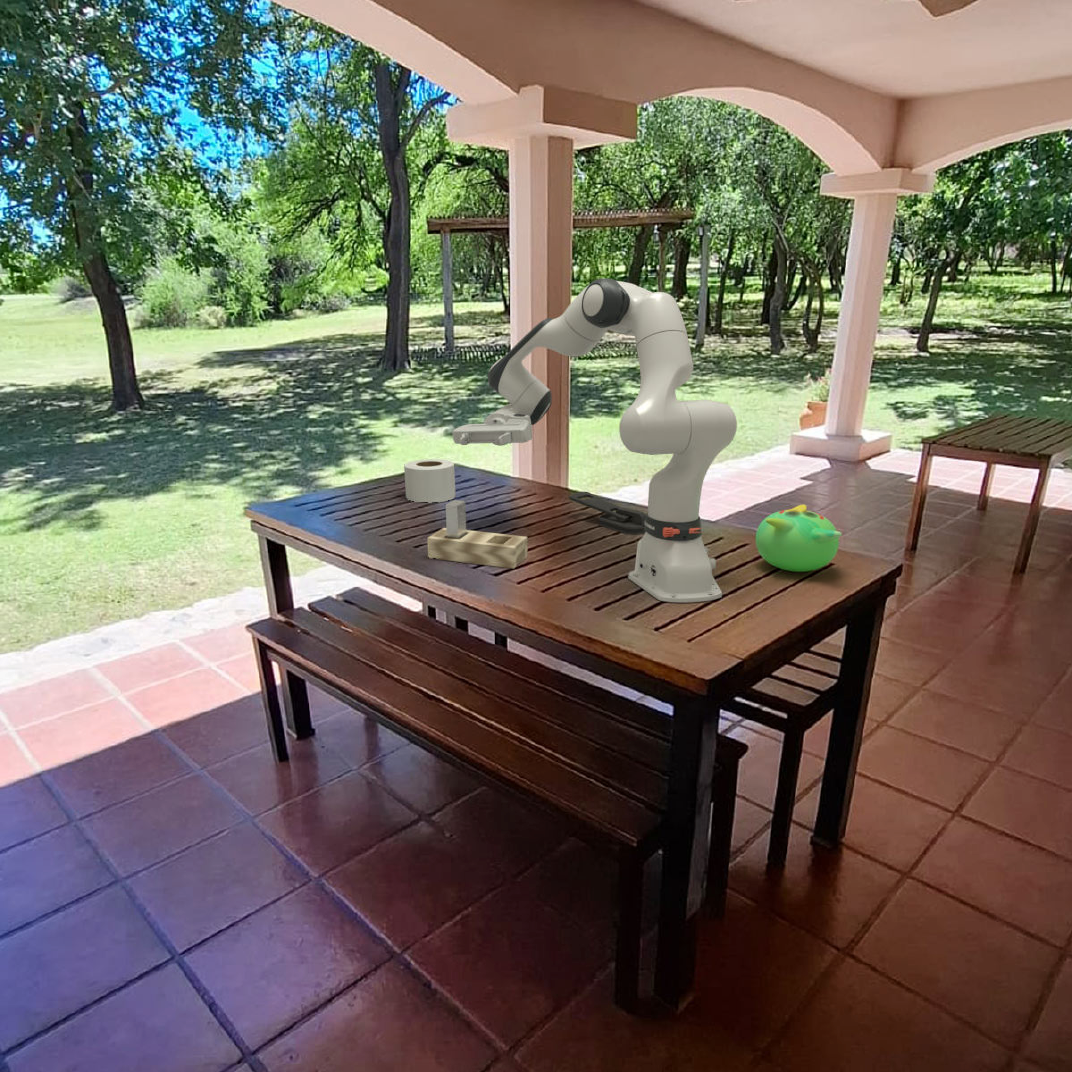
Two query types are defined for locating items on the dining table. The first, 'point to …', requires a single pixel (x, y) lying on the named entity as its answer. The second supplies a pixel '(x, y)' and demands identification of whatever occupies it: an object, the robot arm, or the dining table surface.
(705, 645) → the dining table surface
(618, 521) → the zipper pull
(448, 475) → the toilet paper roll
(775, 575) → the dining table surface
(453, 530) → the grey square pillar
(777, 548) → the toy bird
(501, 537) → the hollow cinder block
